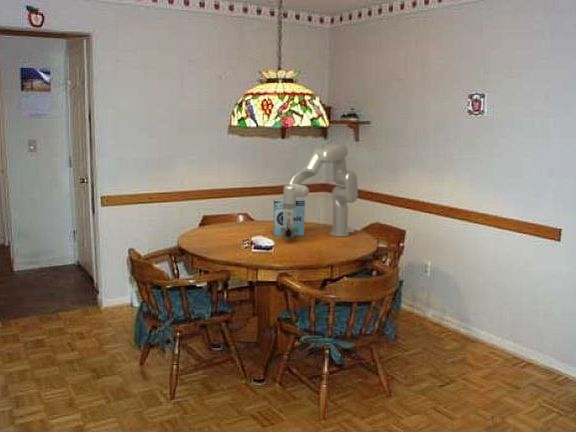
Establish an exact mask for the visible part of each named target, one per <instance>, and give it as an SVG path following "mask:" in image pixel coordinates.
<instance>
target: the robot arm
mask: <svg viewBox="0 0 576 432" xmlns="http://www.w3.org/2000/svg"><path fill="white" fill-rule="evenodd" d="M348 153H349V152H348V148H347V147H346V146H345V145H344V144H335V143H327V144H325V145H324V146H323V148H322V147H320V148H319V147H317V148H315V149H314V150H313V151H312V153H311V155H310V156H309V159H308V160H307V163H306V164H305V166H304V167H303V168H302V169H301V170H299V171H298V172H297V173H296V174H294V176H292V178H291V180H290V181H289V184H287V185H284V186H283V191H282V192H283V199H282V200H283V209H285V225H286V237H291V225H292V226H293V223H294V209H296V200H297V198H303V199H304V198H306V197H307V196H309V193H310V189H309V188H308V186H306V185H304V184H302V183H303V182H304V181H306V180H307V179H310V178H312V177H314V176H316V175H317V174H318V173H319V170H320V169H321V168H322V165H323V163H326V164H331V165H332V174H333V175H332V177H333V182H334V183H335V184H337V186H335V187H334V188H333V189H332V191H331V196H332V204H333V205H332V227H331V229H332V230H331V231H330V232H329V235H331V236H333V237H348V236H349V235H350V233H355V229H354V228H353V229H352V228H348V217H349V215H348V213H349V205H348V204H352V203H355V202H357V199H358V195H359V189H358V187H359V186H358V176H357V174H356V173H355V172H354V171H353V170H349V169H347V162H346V157H347V156H348ZM347 203H348V204H347Z"/></svg>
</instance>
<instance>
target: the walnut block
mask: <svg viewBox="0 0 576 432" xmlns="http://www.w3.org/2000/svg"><path fill="white" fill-rule="evenodd" d="M282 237H283V241H291V242H292V241H294V238H295V236H294V228H291V237H286V228H284V231H283V236H282Z"/></svg>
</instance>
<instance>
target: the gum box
mask: <svg viewBox="0 0 576 432" xmlns="http://www.w3.org/2000/svg"><path fill="white" fill-rule="evenodd" d="M305 202H306V201H305V199H304V198H303V199H296V209H294V223H293V226H292V225H291V228H294V237H297V236H298V237H299V236H303V237H304V236H305V209H306V208H305V205H306V203H305ZM284 228H286V225H285V209H283V199H273V236H274V237H283V231H284Z"/></svg>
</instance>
